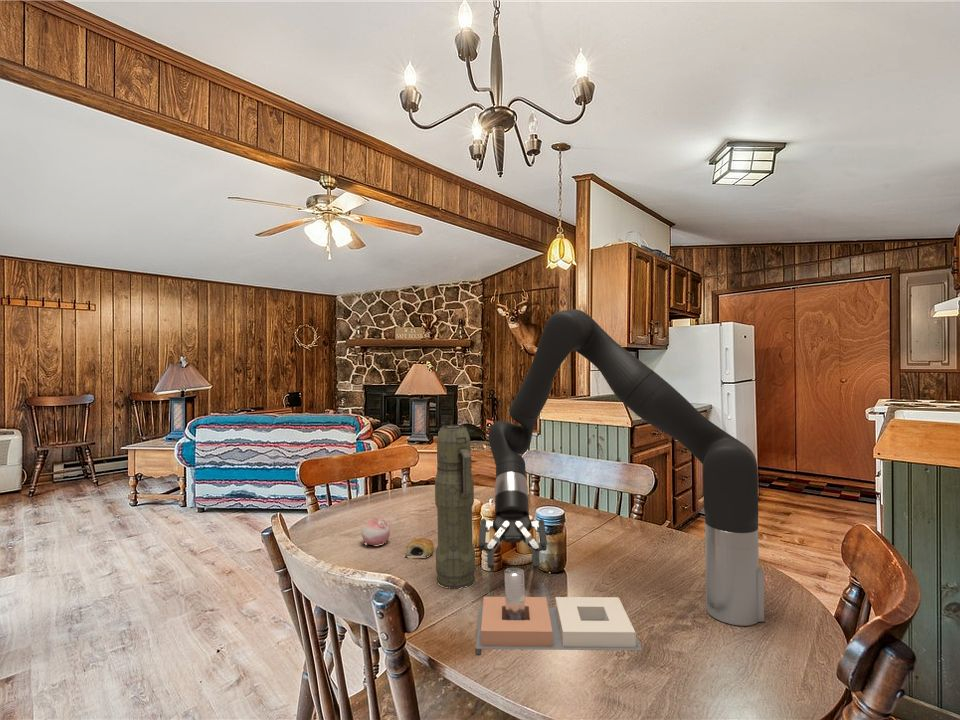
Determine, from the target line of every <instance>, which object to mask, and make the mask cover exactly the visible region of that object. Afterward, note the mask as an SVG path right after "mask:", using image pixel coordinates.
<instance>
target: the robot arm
mask: <svg viewBox="0 0 960 720" xmlns="http://www.w3.org/2000/svg"><path fill="white" fill-rule="evenodd" d="M535 351H536V352H535V354H534V356H533V359H532V362H531V365H530V367H529V370H528V372H527V373H526V376H525V379H524V380H523V382H522V384H521V386H520V388H519V389H518V391H517V394H516V395H515V398H514V399H513V401H512V403H511V404H510V407H509V410H508V413H509V415H510V418H511V419H513V420H514V421H515V422H516V423H518V424H515V423H511V422H509V421H505V420H496V421H495V422H493V424H491V427H490V428H489V431H488V445H489V448H490V451H491V453H492V457H493V460H494V464H495V486H494V519H493V521H487V520H486V519H485V518H482V519H481V520H480V526H479V536H478V549H479V551H485V552H486V554H487V558H486V560H487V561H486V563H487V564H486V565H487V568H488V569H490V572H495V550H496V549H497V548H498V547H499V546H500V545H501V544H502V542H504V543H507V544H508V543H509V544H510V543H516V544H517V543H518V544H520V543H521V542H523V543H524V545H526V547H528V548H529V549H530V551H531V564H532V565H531V566H532V572H537V569H539V567H540V553H541V552H542V551H543V552H544V551H546V550H547V548H548V547H547V546H548V539H547V532H546V526H545V524H546V523H545V520H544V519H543V518H539V519H538V520H537V521H532V520H531V518H530V508H529V505H530V504H529V489H528V484H527V473H526V472H527V471H526V462H525V459H524V457H522V455H523V454H524V453H526V452H527V451H528V450H529V448H530V446H531V442H532V438H533V433H534V429H535V426H536V422H537V419H538V418H539V416H540V414H541V412H542V410H543V409H544V407H545V405H546V403H547V402H548V399H549V397H550V394H551V390H552V387H553V381H554V380H555V379H554V378H555V376H556V373H557V372H558V370H559V368H560V366H561V365H562V363H563V362H564V360H566V359H567V357H568V356H569V355H570V354H571V352H574V351H575V352H576V353H578V354H579V355H581V356H582V357H584V358H585V359H586V360H588V361H589V362H590V363H591V364H592V365H594V367H595V368H596V369H597V370H598V371H599V372H600V374H602V377H603V378H604V380H605V381H606V383H607V385H608V386H609V388H610V390H611V391H612V392H613V394H614V395H615V396H616V397H617V398H618V400H619V401H620V402H621V403H623V404H624V406H626V407H627V408H628V409H629V410H631V412H633V413H634V414H635V415H636V416H638V417H639V418H640V419H642V420H643V421H644V422H646V423H647V424H648V425H650V426H652V427H654V428H655V429H657V430H659V431H661V432H662V433H664V434H666V435H668V436H669V437H670V438H672V439H675V440H676V441H677V442H678V443H680V444H681V445H682V446H683V447H684V448H686V449H687V450H688V451H689V452H690V453H691V454H692V455H693V456H694V457H695V458H696V459H697V460H698V461H699V462H700V463H701V464H702V491H703V492H702V493H703V511H704V543H705V544H704V545H705V546H704V548H705V550H704V551H705V552H704V553H705V564H704V565H705V608H706V611H707V614H708V615H710V616H712V618H714V619H716V620H717V621H720V622H722V623H726V624H729V625H733V626H742V627H743V626H744V627H745V626H753V625H755V624H757V623H758V622H765V581H764V580H765V574H764V570H763V569H762V568H761V567H760V566H759V565H760V563H759V562H760V561H759V560H760V559H759V556H760V555H759V551H760V550H759V468H758V462H757V459H756V458H757V457H755V453H754V452H753V451H752V449H751V448H750V447H748V446H747V445H746V444H745V443H743V442H742V441H740V440H738V439H737V438H736V437H734V436H732V435H731V434H729V433H728V432H726V431H725V430H723V429H722V428H720V427H719V426H717V425H716V424H715V423H714V422H712V421H711V420H709V419H708V418H707V417H705V416H704V415H703V414H702V413H701V412H700V411H699V410H697V408H695V406H693V404H692V403H690V401H689V400H688V399H686V397H684V395H682V394H681V393H680V392H679V391H678V390H677V389H676V388H674V387H673V386H672V385H671V384H670V383H669V382H667V381H666V380H665V379H664V378H662V376H660V375H659V374H658V373H657V372H655V371H654V370H653V369H651V367H649V366H647V365H646V364H645V363H643V362H642V361H641V360H640V359H638V358H637V357H636V356H635V355H633V354H632V353H631V352H629V351H628V350H627V349H626V348H624V346H623V347H622V346H621V345H620V344H619V343H617V341H615V340H614V339H613V338H612V337H611V336H610V335H609V334H608V333H607V332H606V330H604V329H603V327H602V326H600V324H599V323H597V322H596V321H595V319H593V318H592V317H591V316H590V315H589V314H588V313H587V312H585V311H583V310H581V309H575V308H573V309H565V310H559V311H557V312H555V313H553V314H552V315H550V316H549V318H548V319H547V320H546V323H545V325H544V327H543V330H542V333H541V337H540V338H539V343H538V346H537V349H536V350H535ZM519 424H520V425H519ZM532 528H533V529H534V531H535V532H537V533H538V535H539V536H538V537H539V542H537V541H536V540H535V538H533V535H532V534H531V533H530V531H531V530H532ZM490 529H493V531H495V533H494V535H493V536H492V539H490V541H489V542H486V537H487V533H489V532H490Z"/></svg>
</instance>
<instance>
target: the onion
mask: <svg viewBox="0 0 960 720" xmlns="http://www.w3.org/2000/svg"><path fill="white" fill-rule="evenodd" d="M390 531H391V528H390V524H389V523H388V521H386V520H385V519H383V518H381V517H376V518H373V519H370V520H368V521H367V522H366V523H365V524H364V525H363V527H362V529H361V538H362V539H363V541H364V543H365V542H366V543H367V544H370V545H379V544H383V543H385V542H386V541H387V542H388V541H389V538H390V534H391V532H390ZM387 542H386V543H387ZM386 543H385V544H386ZM370 545H369V546H370ZM383 545H384V544H383Z"/></svg>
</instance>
